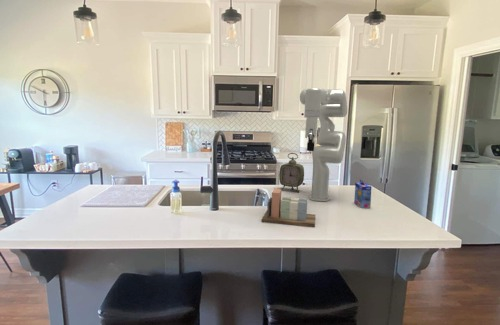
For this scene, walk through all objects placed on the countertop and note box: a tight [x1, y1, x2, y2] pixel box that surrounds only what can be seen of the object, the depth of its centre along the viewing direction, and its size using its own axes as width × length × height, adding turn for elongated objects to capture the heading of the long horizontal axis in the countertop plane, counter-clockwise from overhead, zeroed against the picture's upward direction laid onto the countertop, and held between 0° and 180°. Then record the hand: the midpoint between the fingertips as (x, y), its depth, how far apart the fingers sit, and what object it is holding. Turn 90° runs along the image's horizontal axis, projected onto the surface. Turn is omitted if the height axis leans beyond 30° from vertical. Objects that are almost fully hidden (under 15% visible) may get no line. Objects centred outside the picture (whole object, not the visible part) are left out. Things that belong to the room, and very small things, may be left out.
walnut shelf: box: [261, 196, 316, 228], centre depth 139 cm, size 13×24×10 cm, turn 77°
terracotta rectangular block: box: [271, 188, 282, 218], centre depth 141 cm, size 7×4×12 cm, turn 167°
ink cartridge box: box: [353, 179, 372, 209], centre depth 163 cm, size 10×6×14 cm, turn 3°
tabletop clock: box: [278, 152, 305, 193], centre depth 193 cm, size 14×9×25 cm, turn 62°
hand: (310, 149), depth 146 cm, fingers open, 9 cm apart
